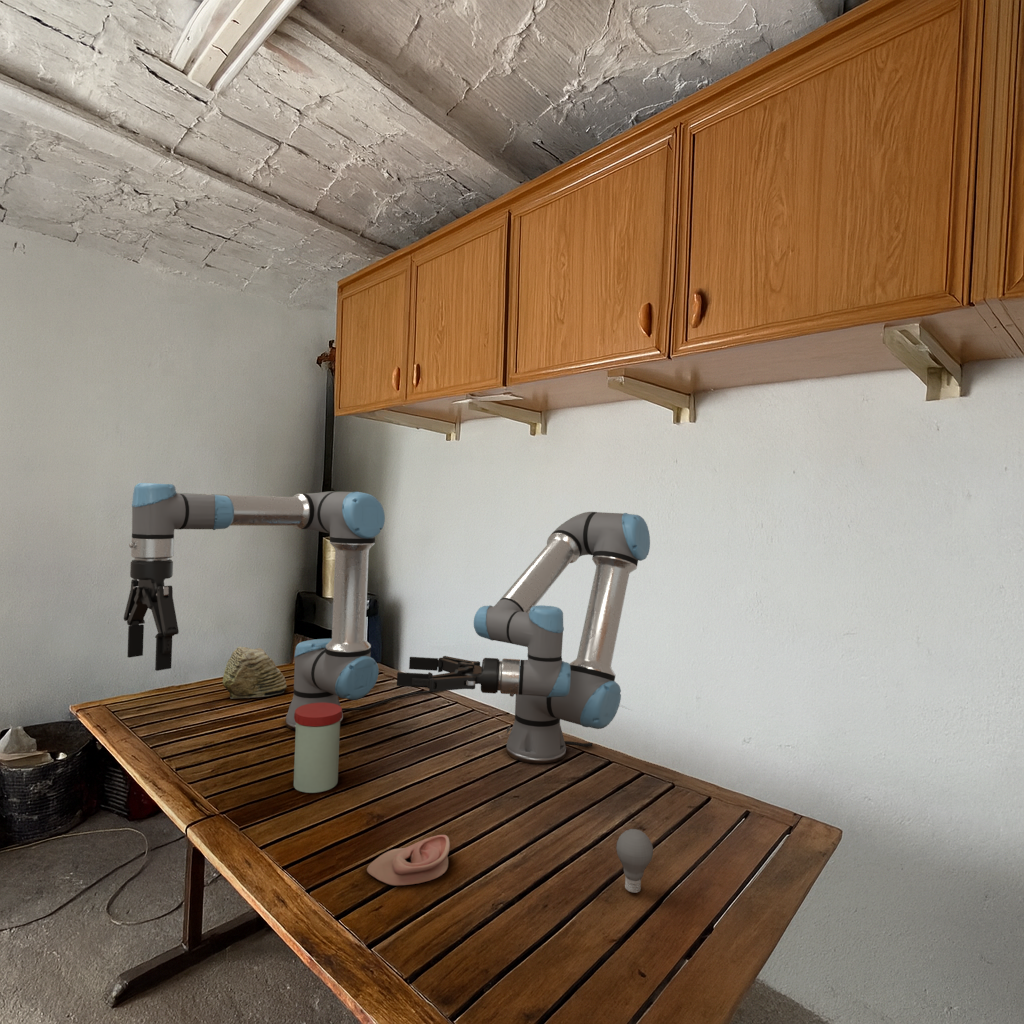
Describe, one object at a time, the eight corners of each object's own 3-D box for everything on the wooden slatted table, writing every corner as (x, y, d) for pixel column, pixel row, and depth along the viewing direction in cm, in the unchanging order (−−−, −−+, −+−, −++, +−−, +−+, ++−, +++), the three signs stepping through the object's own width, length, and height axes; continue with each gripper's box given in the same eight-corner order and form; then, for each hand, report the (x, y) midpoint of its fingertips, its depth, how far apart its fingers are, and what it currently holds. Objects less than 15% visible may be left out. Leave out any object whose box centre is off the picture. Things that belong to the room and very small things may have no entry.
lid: (287, 715, 140) (287, 707, 140) (331, 708, 147) (331, 699, 147) (304, 729, 133) (304, 720, 133) (349, 721, 139) (349, 712, 139)
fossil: (218, 695, 195) (220, 647, 195) (278, 685, 208) (279, 640, 207) (228, 703, 189) (230, 653, 188) (289, 692, 201) (290, 645, 201)
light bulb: (610, 879, 108) (613, 822, 108) (644, 879, 109) (647, 822, 109) (619, 902, 102) (622, 840, 102) (655, 901, 103) (658, 840, 103)
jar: (287, 780, 141) (289, 709, 140) (327, 770, 147) (330, 702, 146) (302, 796, 133) (305, 722, 133) (344, 785, 139) (347, 714, 139)
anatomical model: (359, 856, 105) (387, 822, 116) (358, 879, 105) (386, 843, 116) (435, 869, 102) (456, 833, 114) (434, 893, 103) (455, 855, 114)
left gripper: (108, 554, 134) (104, 654, 134) (159, 565, 118) (155, 678, 119) (146, 552, 140) (143, 648, 140) (199, 563, 124) (195, 671, 124)
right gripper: (495, 711, 127) (390, 705, 127) (501, 677, 152) (413, 672, 152) (497, 674, 127) (392, 668, 127) (502, 646, 152) (414, 641, 152)
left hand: (148, 662), depth 129 cm, fingers open, 13 cm apart
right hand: (403, 670), depth 140 cm, fingers open, 13 cm apart
